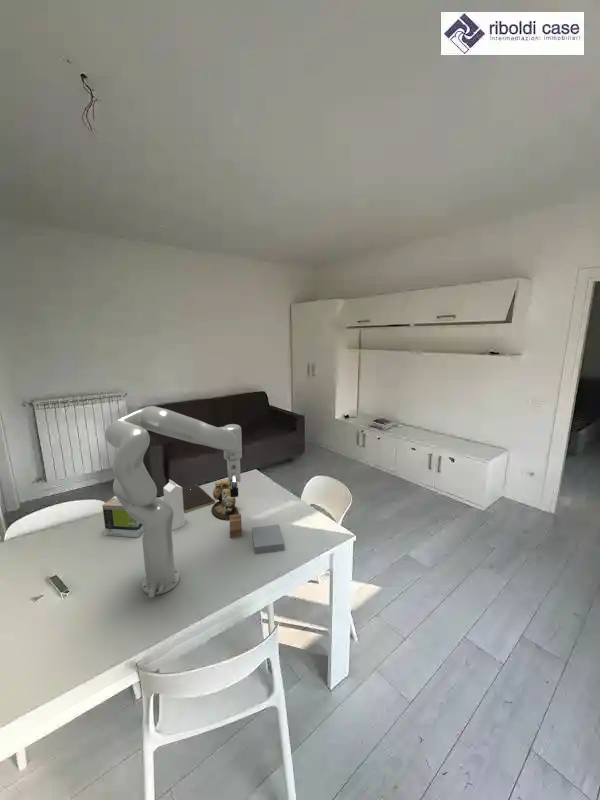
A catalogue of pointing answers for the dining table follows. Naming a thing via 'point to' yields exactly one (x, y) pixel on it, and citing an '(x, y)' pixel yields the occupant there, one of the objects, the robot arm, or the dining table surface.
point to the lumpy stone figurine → (223, 501)
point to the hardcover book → (195, 498)
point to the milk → (175, 503)
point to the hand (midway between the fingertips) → (234, 491)
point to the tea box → (120, 520)
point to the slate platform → (267, 539)
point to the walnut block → (235, 526)
